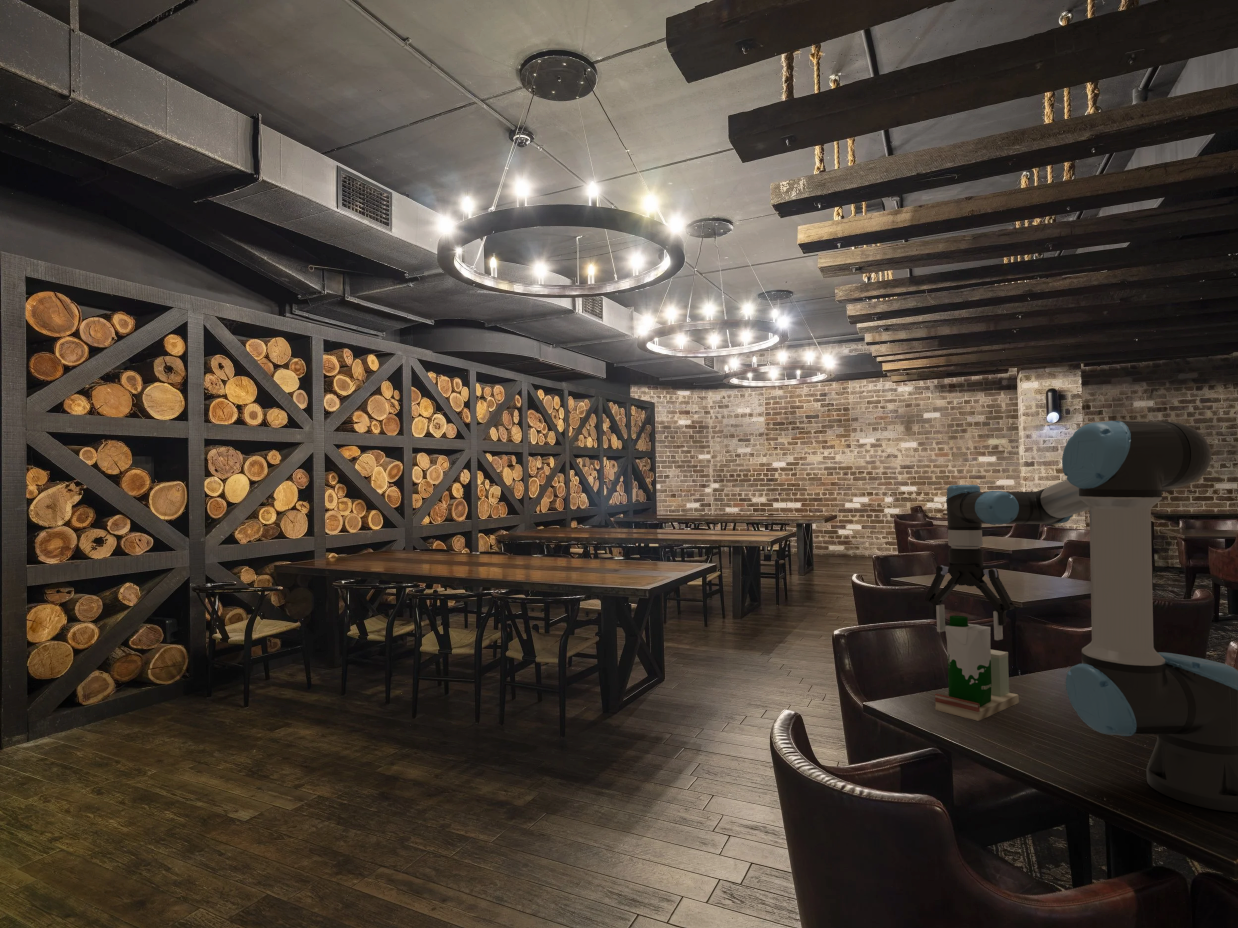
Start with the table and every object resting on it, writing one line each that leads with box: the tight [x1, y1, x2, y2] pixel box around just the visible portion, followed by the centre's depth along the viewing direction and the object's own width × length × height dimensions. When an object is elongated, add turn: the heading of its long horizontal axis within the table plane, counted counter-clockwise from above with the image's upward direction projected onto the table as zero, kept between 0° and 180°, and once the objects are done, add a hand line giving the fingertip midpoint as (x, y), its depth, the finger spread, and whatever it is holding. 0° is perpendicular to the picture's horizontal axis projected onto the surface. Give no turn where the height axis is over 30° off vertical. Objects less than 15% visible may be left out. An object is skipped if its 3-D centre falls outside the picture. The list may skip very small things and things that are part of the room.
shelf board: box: [934, 692, 1020, 722], centre depth 163 cm, size 22×10×4 cm, turn 128°
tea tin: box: [991, 649, 1010, 697], centre depth 168 cm, size 5×6×10 cm
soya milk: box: [944, 615, 992, 707], centre depth 161 cm, size 9×9×20 cm
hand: (969, 635), depth 161 cm, fingers open, 13 cm apart
